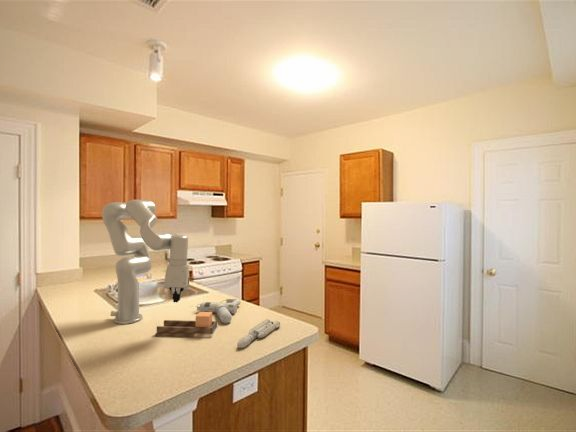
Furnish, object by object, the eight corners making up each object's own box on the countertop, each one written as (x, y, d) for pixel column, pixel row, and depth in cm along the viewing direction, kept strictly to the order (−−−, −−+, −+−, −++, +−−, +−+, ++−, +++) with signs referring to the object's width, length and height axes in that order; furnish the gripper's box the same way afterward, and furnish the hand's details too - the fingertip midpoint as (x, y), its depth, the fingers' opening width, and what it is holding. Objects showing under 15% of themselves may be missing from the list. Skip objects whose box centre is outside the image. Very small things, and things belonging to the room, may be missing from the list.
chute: (154, 336, 136) (154, 328, 136) (166, 326, 148) (166, 318, 148) (211, 337, 135) (211, 329, 135) (217, 327, 147) (217, 319, 147)
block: (195, 331, 138) (195, 316, 138) (199, 326, 144) (199, 311, 144) (208, 331, 138) (208, 316, 138) (212, 326, 144) (212, 312, 144)
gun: (245, 306, 180) (229, 325, 151) (198, 304, 184) (174, 322, 154) (245, 296, 180) (229, 314, 150) (198, 294, 183) (174, 311, 154)
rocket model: (281, 320, 149) (247, 343, 122) (281, 328, 149) (247, 353, 122) (264, 317, 153) (228, 339, 126) (264, 324, 153) (228, 348, 126)
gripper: (158, 262, 137) (156, 302, 138) (191, 264, 137) (189, 305, 138) (165, 259, 145) (163, 297, 146) (197, 261, 145) (194, 300, 145)
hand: (176, 301), depth 142 cm, fingers closed
